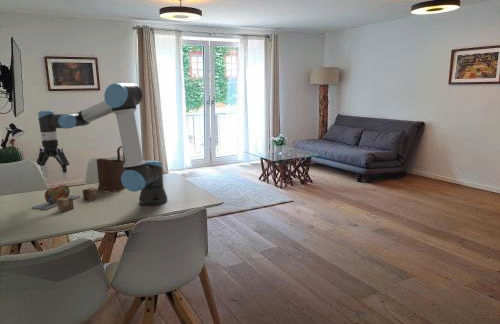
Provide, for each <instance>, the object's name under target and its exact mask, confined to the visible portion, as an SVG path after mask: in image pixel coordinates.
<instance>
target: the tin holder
mask: <svg viewBox="0 0 500 324" xmlns="http://www.w3.org/2000/svg"><path fill="white" fill-rule="evenodd" d="M97 189H98V188H93V187H87V188H85V189H82V198H83V201H87V200H90V202H93V201H94V200H97V199H98V193H97V191H98V190H97ZM57 205H58V206H57V210H58V211H60V212H67V211H69V210H73V209H74V200H73V198H72V197H71V198H65V197H61V198H59V199H57Z"/></svg>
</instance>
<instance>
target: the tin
mask: <svg viewBox="0 0 500 324" xmlns="http://www.w3.org/2000/svg"><path fill="white" fill-rule="evenodd" d="M69 195H70V188H69V186H68V185H66V184H60V185H56V186H54V187H51V188H48V189H46V191H45V193H44V199H45V201H46V202H48V203H57V199H59V198H61V197H65V198H68V196H69Z"/></svg>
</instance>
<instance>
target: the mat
mask: <svg viewBox="0 0 500 324" xmlns="http://www.w3.org/2000/svg"><path fill="white" fill-rule="evenodd" d="M71 197H72V198H73V201H74V200H77V199H80V198H81V197H82V196H80V195H74V194H73V195H72V194H69V196H68V198H71ZM56 207H58V205H57V203H48V202H47V201H46V202H42V203H40V204H37V205H34V206H32V207H31V209H35V210H41V211H42V210H44V211H47V210H51V209H53V208H56Z"/></svg>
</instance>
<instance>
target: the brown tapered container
mask: <svg viewBox="0 0 500 324" xmlns="http://www.w3.org/2000/svg"><path fill="white" fill-rule="evenodd" d="M121 149H122V150H123V147H122V145H121V146H118V147H117V149H116V152H117V159H106V158H97V159H96V167H97V169H96V170H97V178H98V187H97V188H96V189H97V191H98V192H101V191H102V192H101V193H103V192H104V193H111V192H119V191H123V190H125V189H126V188H125V187H124V186H123V184H122V182H121V175H122V174H123V172H124V169H123V165H124V164H125V157H124V152H123V151H122V155H123V156H122V159H123V160H122V159H121V154H120V150H121ZM126 190H127V189H126Z"/></svg>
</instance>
